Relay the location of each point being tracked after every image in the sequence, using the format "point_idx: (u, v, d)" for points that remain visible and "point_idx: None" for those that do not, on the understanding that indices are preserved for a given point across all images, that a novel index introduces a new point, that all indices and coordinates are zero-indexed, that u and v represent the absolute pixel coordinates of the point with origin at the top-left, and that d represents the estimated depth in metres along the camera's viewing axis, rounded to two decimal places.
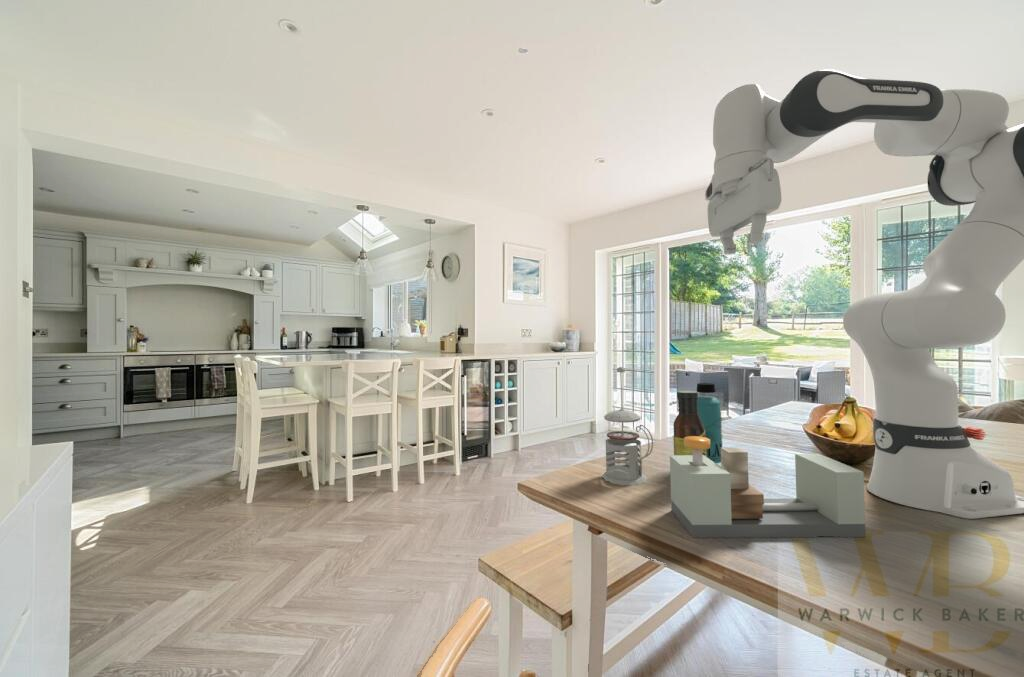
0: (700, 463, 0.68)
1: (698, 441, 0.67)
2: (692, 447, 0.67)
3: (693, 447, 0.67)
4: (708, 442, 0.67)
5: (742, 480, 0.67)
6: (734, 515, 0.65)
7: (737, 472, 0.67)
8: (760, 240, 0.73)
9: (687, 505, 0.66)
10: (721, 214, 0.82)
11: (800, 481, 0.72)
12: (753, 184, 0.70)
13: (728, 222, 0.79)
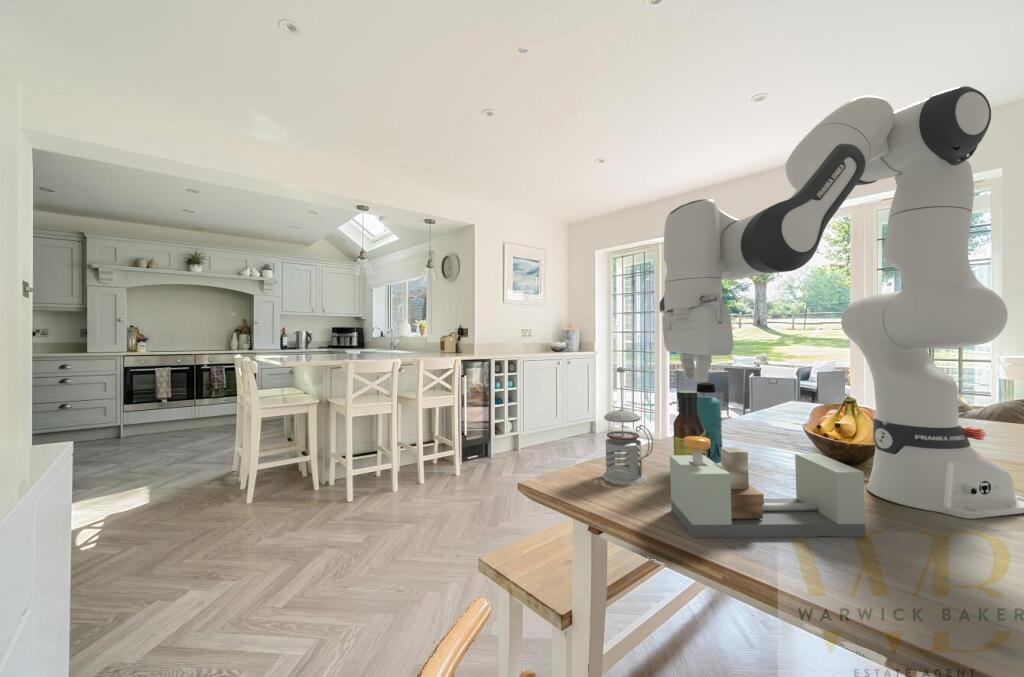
0: (700, 463, 0.68)
1: (698, 441, 0.67)
2: (692, 447, 0.67)
3: (693, 447, 0.67)
4: (708, 442, 0.67)
5: (742, 480, 0.67)
6: (734, 515, 0.65)
7: (737, 472, 0.67)
8: (705, 380, 0.66)
9: (687, 505, 0.66)
10: (674, 333, 0.73)
11: (800, 481, 0.72)
12: (702, 324, 0.61)
13: (681, 348, 0.70)
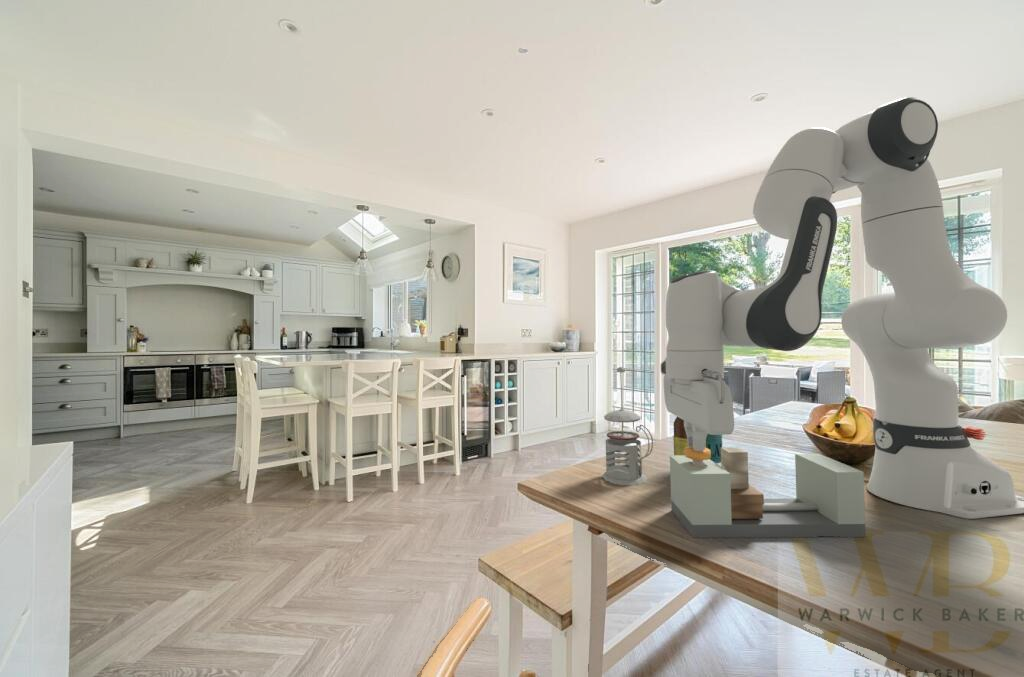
0: None
1: (698, 452, 0.67)
2: (692, 458, 0.67)
3: (693, 458, 0.67)
4: (708, 453, 0.67)
5: (742, 480, 0.67)
6: (734, 515, 0.65)
7: (737, 472, 0.67)
8: (702, 449, 0.67)
9: (687, 505, 0.66)
10: (675, 398, 0.73)
11: (800, 481, 0.72)
12: (704, 401, 0.61)
13: (682, 416, 0.70)
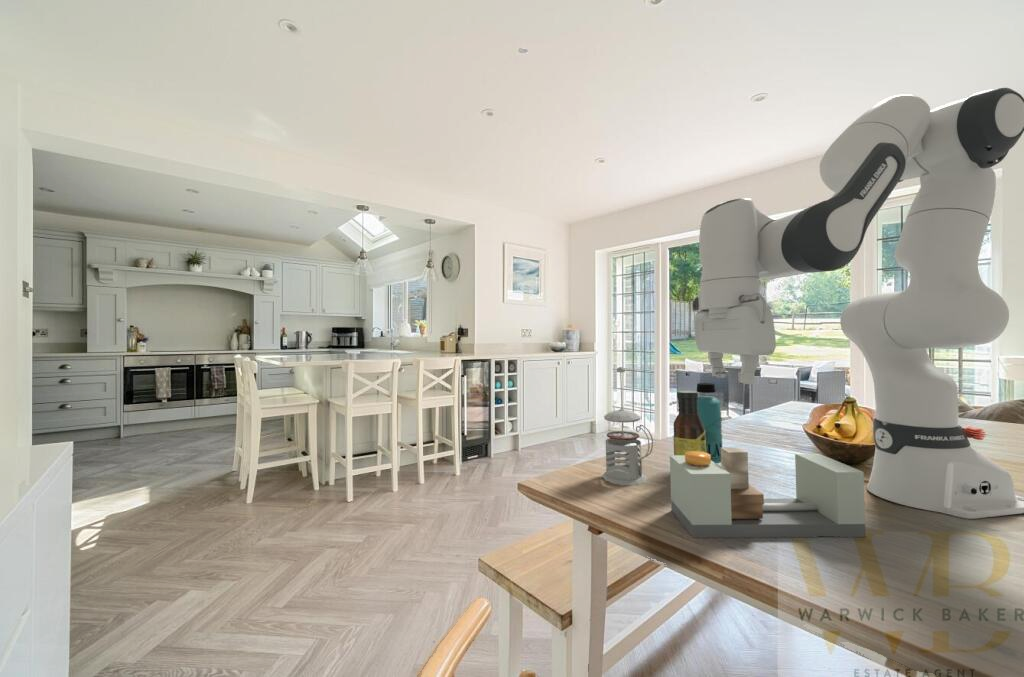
0: None
1: (698, 457, 0.67)
2: (692, 463, 0.67)
3: (693, 463, 0.67)
4: (708, 458, 0.67)
5: (742, 480, 0.67)
6: (734, 515, 0.65)
7: (737, 472, 0.67)
8: (752, 382, 0.63)
9: (687, 505, 0.66)
10: (708, 333, 0.73)
11: (800, 481, 0.72)
12: (743, 323, 0.60)
13: (717, 348, 0.70)
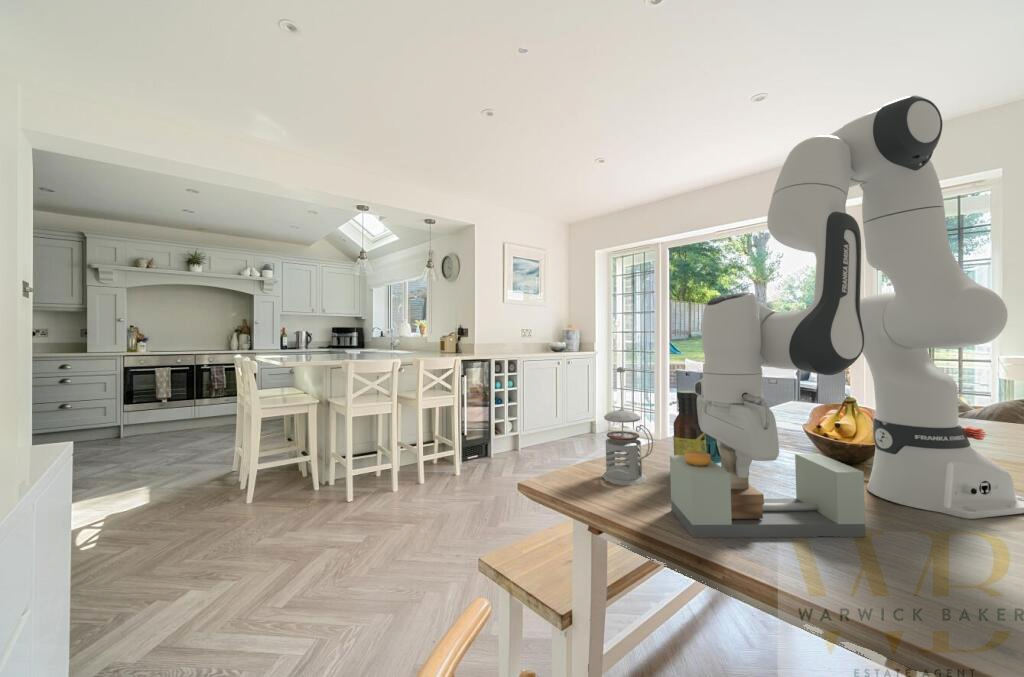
0: None
1: (698, 457, 0.67)
2: (692, 463, 0.67)
3: (693, 463, 0.67)
4: (708, 458, 0.67)
5: (742, 480, 0.67)
6: (734, 515, 0.65)
7: None
8: (746, 475, 0.66)
9: (687, 505, 0.66)
10: (711, 419, 0.73)
11: (800, 481, 0.72)
12: (747, 427, 0.61)
13: (719, 438, 0.70)
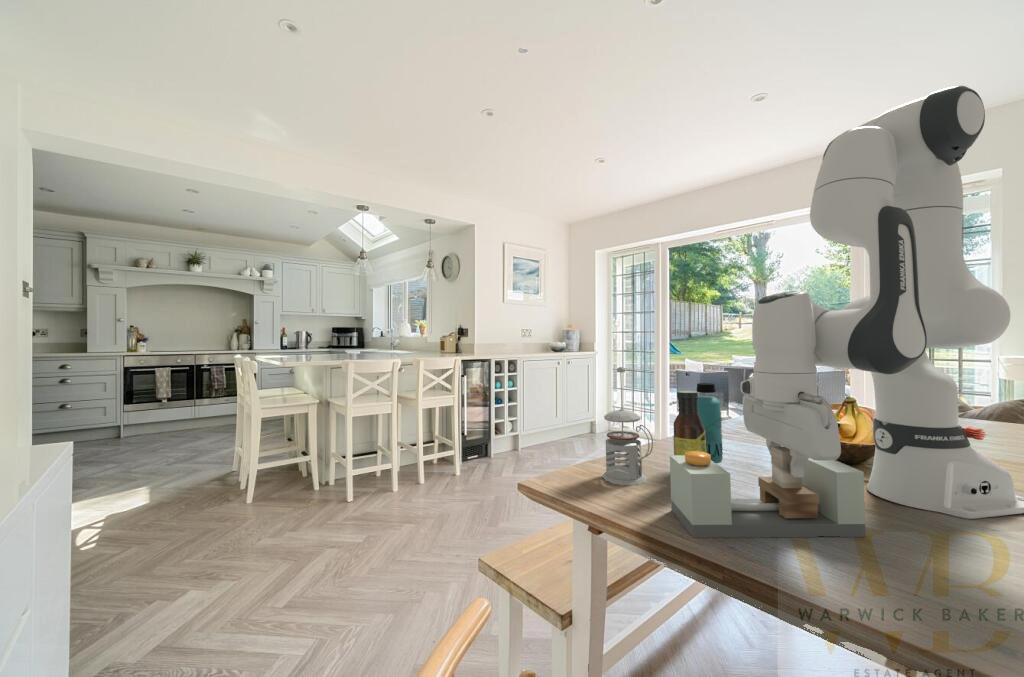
0: None
1: (698, 457, 0.67)
2: (692, 463, 0.67)
3: (693, 463, 0.67)
4: (708, 458, 0.67)
5: (795, 479, 0.67)
6: (789, 515, 0.65)
7: None
8: (801, 475, 0.65)
9: (687, 505, 0.66)
10: (760, 418, 0.72)
11: None
12: (806, 426, 0.60)
13: (771, 437, 0.69)
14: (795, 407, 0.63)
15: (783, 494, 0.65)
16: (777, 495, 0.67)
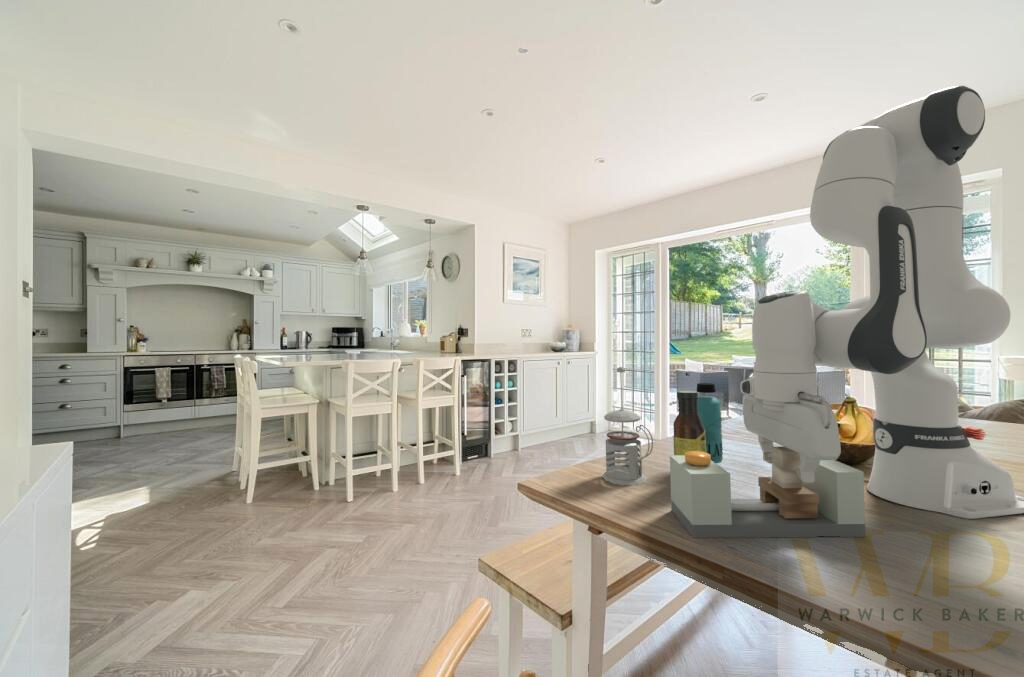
0: None
1: (698, 457, 0.67)
2: (692, 463, 0.67)
3: (693, 463, 0.67)
4: (708, 458, 0.67)
5: (795, 479, 0.67)
6: (789, 515, 0.65)
7: (791, 471, 0.67)
8: (812, 480, 0.63)
9: (687, 505, 0.66)
10: (760, 418, 0.72)
11: None
12: (806, 426, 0.60)
13: (771, 437, 0.69)
14: (795, 407, 0.63)
15: (783, 494, 0.65)
16: (777, 495, 0.67)
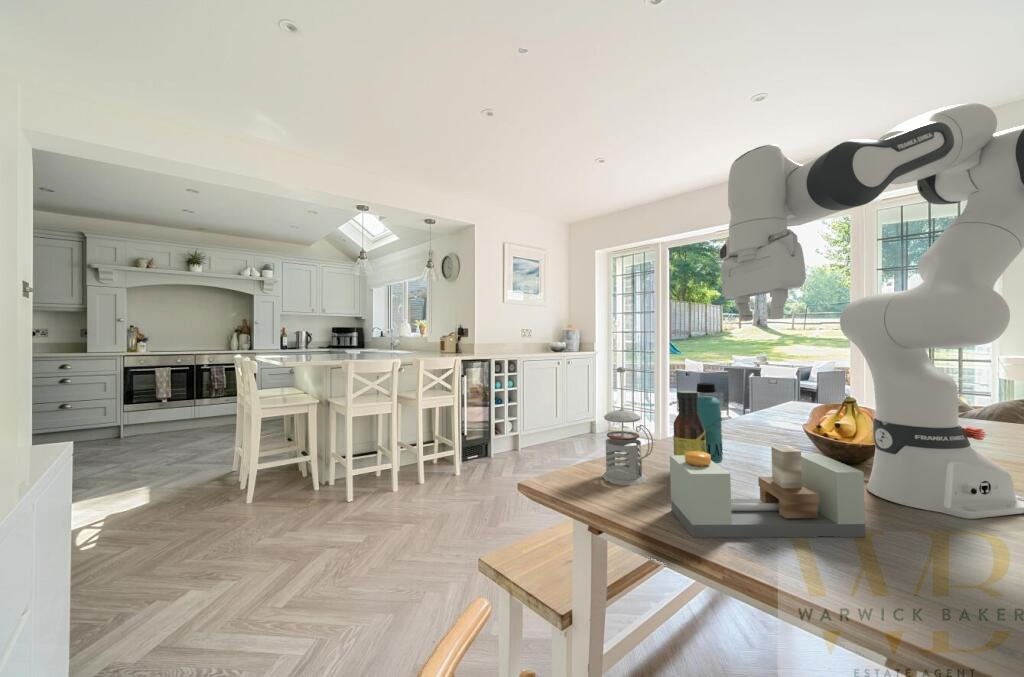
0: None
1: (698, 457, 0.67)
2: (692, 463, 0.67)
3: (693, 463, 0.67)
4: (708, 458, 0.67)
5: (795, 479, 0.67)
6: (789, 515, 0.65)
7: (791, 471, 0.67)
8: (781, 316, 0.67)
9: (687, 505, 0.66)
10: (736, 278, 0.76)
11: None
12: (774, 258, 0.64)
13: (745, 290, 0.73)
14: (765, 247, 0.67)
15: (783, 494, 0.65)
16: (777, 495, 0.67)
